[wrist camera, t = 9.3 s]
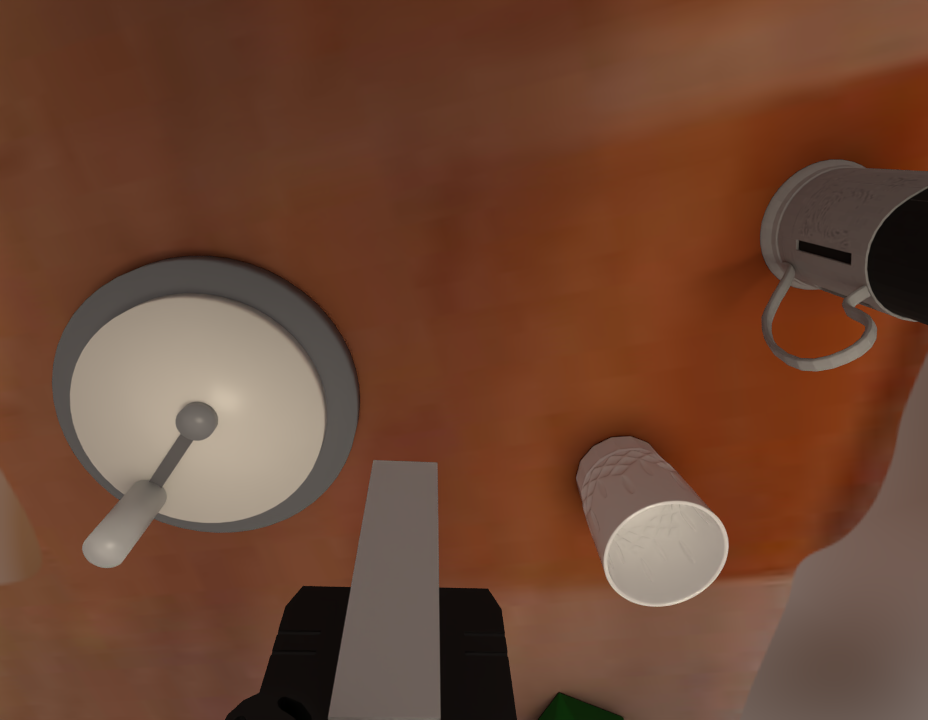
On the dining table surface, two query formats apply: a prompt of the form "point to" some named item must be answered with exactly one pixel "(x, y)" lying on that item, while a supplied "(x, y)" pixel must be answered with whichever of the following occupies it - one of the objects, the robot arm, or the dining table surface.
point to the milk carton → (575, 710)
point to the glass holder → (849, 246)
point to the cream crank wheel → (194, 415)
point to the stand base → (255, 292)
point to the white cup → (648, 524)
